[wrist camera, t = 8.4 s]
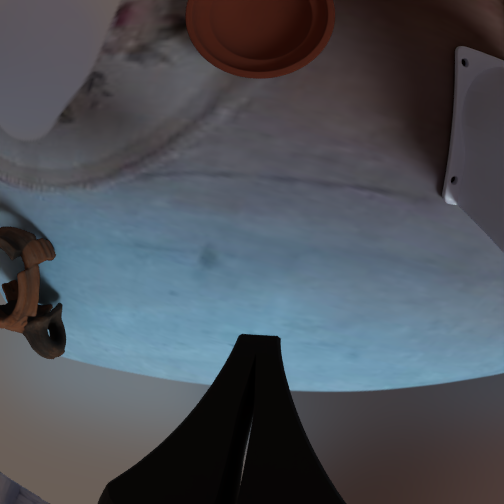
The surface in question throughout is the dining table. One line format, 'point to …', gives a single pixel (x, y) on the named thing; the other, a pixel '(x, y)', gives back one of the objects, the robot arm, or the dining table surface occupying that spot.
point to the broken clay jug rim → (30, 295)
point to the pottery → (260, 34)
